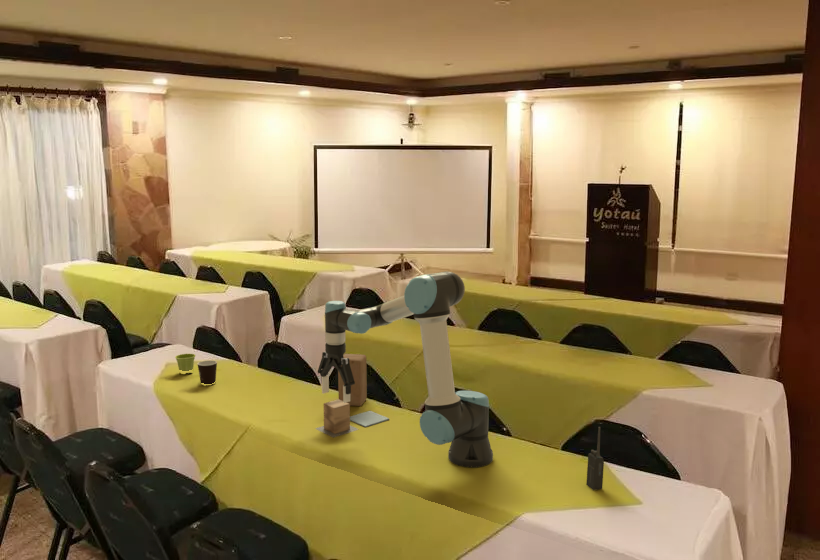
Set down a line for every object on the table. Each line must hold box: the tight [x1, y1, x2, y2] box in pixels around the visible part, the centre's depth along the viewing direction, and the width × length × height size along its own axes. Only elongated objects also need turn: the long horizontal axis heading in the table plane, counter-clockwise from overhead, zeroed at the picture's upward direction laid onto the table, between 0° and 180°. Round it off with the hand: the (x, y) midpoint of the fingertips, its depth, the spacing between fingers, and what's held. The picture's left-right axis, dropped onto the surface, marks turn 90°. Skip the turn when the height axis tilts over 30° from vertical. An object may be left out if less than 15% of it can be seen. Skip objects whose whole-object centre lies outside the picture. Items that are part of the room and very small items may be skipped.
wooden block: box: [337, 353, 368, 407], centre depth 281 cm, size 10×10×20 cm
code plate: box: [314, 424, 360, 438], centre depth 253 cm, size 12×12×1 cm
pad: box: [350, 410, 390, 428], centre depth 263 cm, size 12×12×1 cm
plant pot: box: [174, 353, 196, 371], centre depth 323 cm, size 9×9×9 cm
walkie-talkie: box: [585, 426, 605, 491], centre depth 205 cm, size 5×3×20 cm
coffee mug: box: [196, 359, 218, 384], centre depth 308 cm, size 12×9×10 cm
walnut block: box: [323, 398, 351, 434], centre depth 252 cm, size 7×7×10 cm
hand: (335, 397), depth 251 cm, fingers open, 13 cm apart
